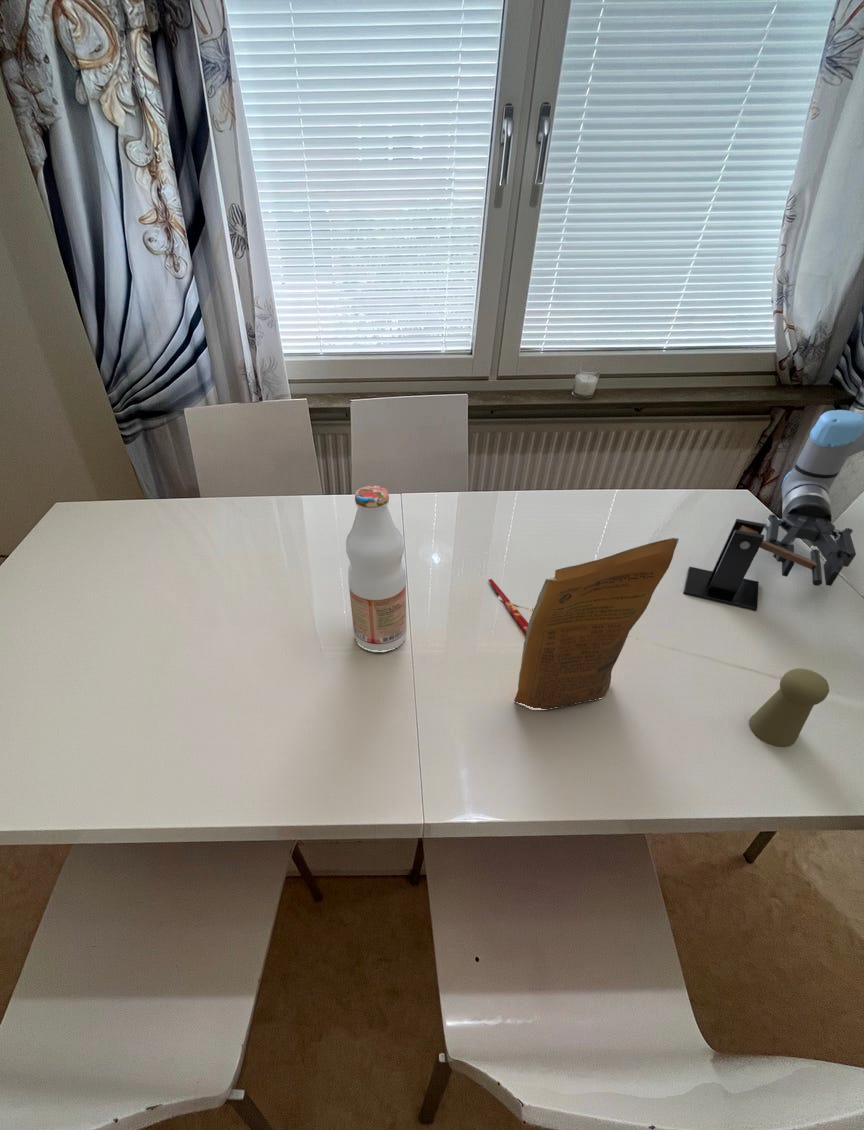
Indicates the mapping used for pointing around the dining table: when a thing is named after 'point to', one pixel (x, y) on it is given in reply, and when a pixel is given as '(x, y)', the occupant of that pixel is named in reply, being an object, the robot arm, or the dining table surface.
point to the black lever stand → (730, 570)
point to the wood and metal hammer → (794, 557)
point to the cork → (789, 707)
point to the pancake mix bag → (587, 624)
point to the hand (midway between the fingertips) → (810, 574)
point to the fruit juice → (376, 573)
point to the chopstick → (511, 607)
